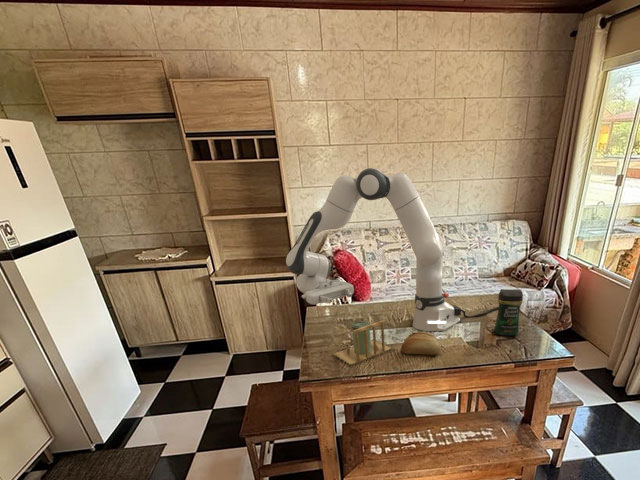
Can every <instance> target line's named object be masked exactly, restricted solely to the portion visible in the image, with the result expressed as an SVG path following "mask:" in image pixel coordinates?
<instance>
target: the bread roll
mask: <svg viewBox="0 0 640 480" xmlns="http://www.w3.org/2000/svg"><path fill="white" fill-rule="evenodd" d="M400 348H401V349H400V350H401V352H402V353H403V354H406V355H423V356H436V355H438V354H440V352H441V349H442V347H441V344H440V342H439V340H438V338H437V337H436V336H435V335H434V334H432V333H430V332H428V331H416V332H412V333H411V334H409V335H408V336H407V337H406V338H405V339H404V341H403V342H402V344H401V347H400Z"/></svg>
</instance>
